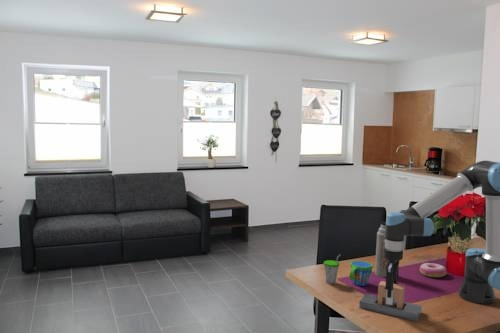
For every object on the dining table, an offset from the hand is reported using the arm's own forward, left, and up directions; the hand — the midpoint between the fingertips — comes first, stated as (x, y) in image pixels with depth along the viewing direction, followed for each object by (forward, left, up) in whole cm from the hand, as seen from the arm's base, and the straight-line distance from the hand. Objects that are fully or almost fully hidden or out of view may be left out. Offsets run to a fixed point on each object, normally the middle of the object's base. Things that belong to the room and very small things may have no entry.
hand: (390, 301), depth 193 cm
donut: (-9, -59, -4) cm, 60 cm away
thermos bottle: (+14, -43, -4) cm, 46 cm away
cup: (+33, -16, -4) cm, 37 cm away
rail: (0, 0, -4) cm, 4 cm away
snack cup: (+20, -23, -4) cm, 31 cm away
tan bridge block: (0, 0, -3) cm, 3 cm away
